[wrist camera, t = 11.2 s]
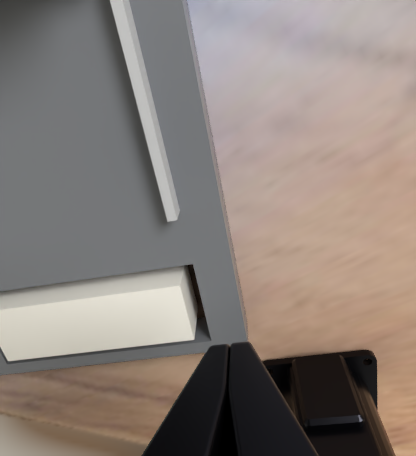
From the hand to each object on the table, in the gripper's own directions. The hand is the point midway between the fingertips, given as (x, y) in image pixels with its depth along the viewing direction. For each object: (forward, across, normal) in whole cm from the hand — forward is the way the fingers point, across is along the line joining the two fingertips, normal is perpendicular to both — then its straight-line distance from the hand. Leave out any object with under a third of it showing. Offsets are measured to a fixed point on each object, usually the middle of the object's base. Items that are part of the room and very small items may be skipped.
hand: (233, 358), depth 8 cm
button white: (+11, +8, +5) cm, 14 cm away
